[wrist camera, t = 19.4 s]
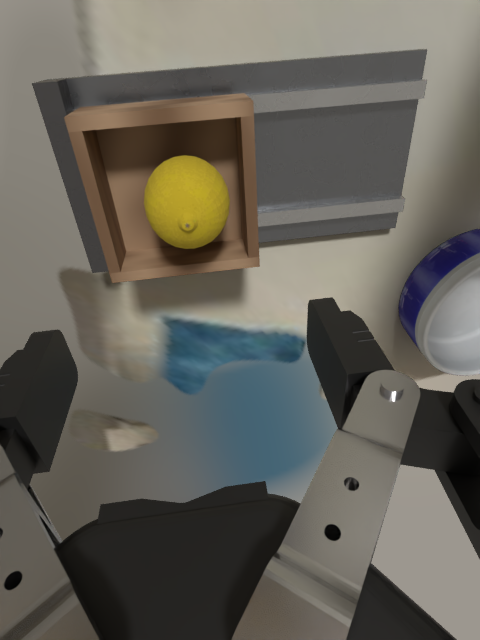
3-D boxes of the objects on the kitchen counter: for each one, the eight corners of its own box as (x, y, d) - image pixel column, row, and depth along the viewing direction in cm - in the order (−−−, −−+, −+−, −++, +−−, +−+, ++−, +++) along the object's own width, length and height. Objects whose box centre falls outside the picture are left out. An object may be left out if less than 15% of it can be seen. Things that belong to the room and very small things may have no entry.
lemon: (134, 163, 28) (118, 200, 21) (206, 130, 27) (213, 158, 20) (170, 231, 31) (166, 281, 24) (235, 203, 30) (249, 248, 24)
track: (420, 49, 30) (444, 50, 27) (390, 223, 38) (407, 238, 35) (46, 79, 28) (31, 83, 25) (99, 255, 36) (92, 272, 34)
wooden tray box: (240, 90, 28) (253, 100, 23) (248, 233, 35) (259, 266, 30) (85, 103, 28) (63, 116, 22) (123, 246, 34) (112, 282, 29)
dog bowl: (556, 222, 40) (608, 247, 36) (499, 339, 49) (533, 371, 44) (417, 228, 39) (450, 254, 34) (383, 347, 48) (406, 382, 43)
